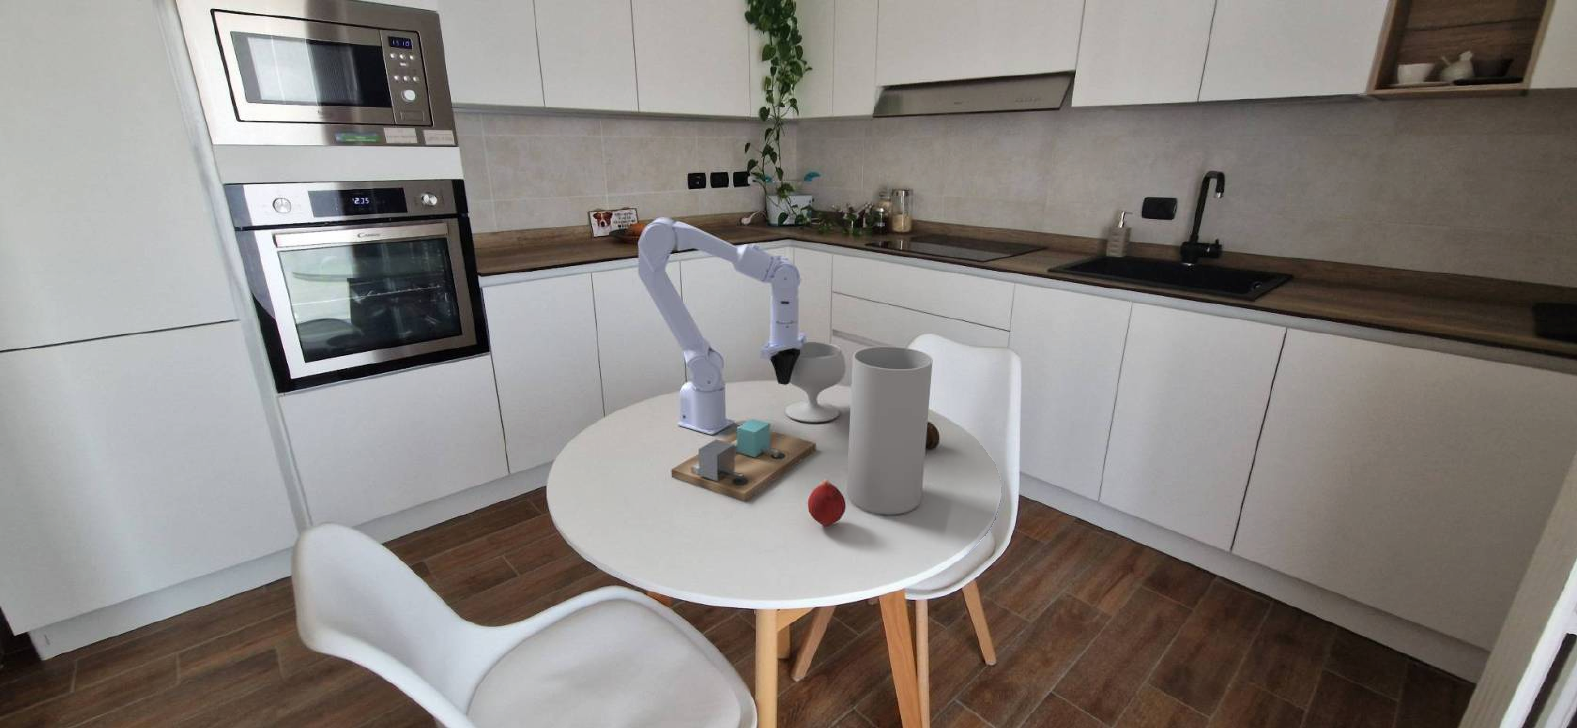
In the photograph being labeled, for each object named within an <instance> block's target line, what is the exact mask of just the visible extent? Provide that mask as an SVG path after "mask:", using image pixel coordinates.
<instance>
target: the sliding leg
mask: <svg viewBox="0 0 1577 728" xmlns="http://www.w3.org/2000/svg"><path fill="white" fill-rule="evenodd" d="M770 425H771V424H770V423H769V422H765V421H762V420H758V419H754V418H752V419H749V420H748V421H746V422H744V423H742V424H741V425H739V426H737V427H736V432H737V452H738V453H742V454H745V455H749V456H752V457H756V456H758V455H759V454H761V453H762V452H766V453H769V454H772V455H774V457H777V456H778V455H779V451H778V450H773V449H770V431H771V428H770V427H771V426H770Z"/></svg>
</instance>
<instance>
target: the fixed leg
mask: <svg viewBox="0 0 1577 728" xmlns="http://www.w3.org/2000/svg"><path fill="white" fill-rule="evenodd" d="M698 454H699V475H700V476H703V477H706V478H709V479H712V480H715V481H719V480H721V479H722V478H724V477H725V476H727V475H728V476H731V477H734V478H737V479H738V481H742V479H743V478H744V475H743V474H742V473H737V472H733V471H734V470H735V445H734V444H731V443H728V442H724V441H722V440H720V439H717V438H716V439H714V440H712V441H711V442H709V443H707V444H706V445H703V446H702V447H700V448H699V449H698Z"/></svg>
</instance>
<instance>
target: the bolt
mask: <svg viewBox="0 0 1577 728" xmlns="http://www.w3.org/2000/svg"><path fill="white" fill-rule="evenodd" d="M939 444H940V433H939V430H938V428H937V427H936V426H935V424H933V423H932V422H930V421H928V422H927V435H926V447H925V449H927V450H929V451H931V450H932V451H933V450H935V449H936V448H937V446H938V445H939Z"/></svg>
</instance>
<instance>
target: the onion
mask: <svg viewBox="0 0 1577 728" xmlns="http://www.w3.org/2000/svg"><path fill="white" fill-rule="evenodd" d="M807 508H808V513H809V515H810V516H811V517H812V519H813V520H815V522H817V523H818V524H819V525H821V526H823V527H828V526H832V525H833V524H836V523H837V522H839V521H840V520H841V519H842V518H843V516H844V513H845V511H846V499H845V497H844V495H843V493H842V492H841V491H840V490H839V488H838V487H837V486H835V485H834V484H832V483H831V482H830V480H829V479H827V478H824V479H823V481H822V484H819V485H818V486H816V487H815V488H814V489H813V490H812V491H811V493H810V495H809V497H808V500H807Z"/></svg>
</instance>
